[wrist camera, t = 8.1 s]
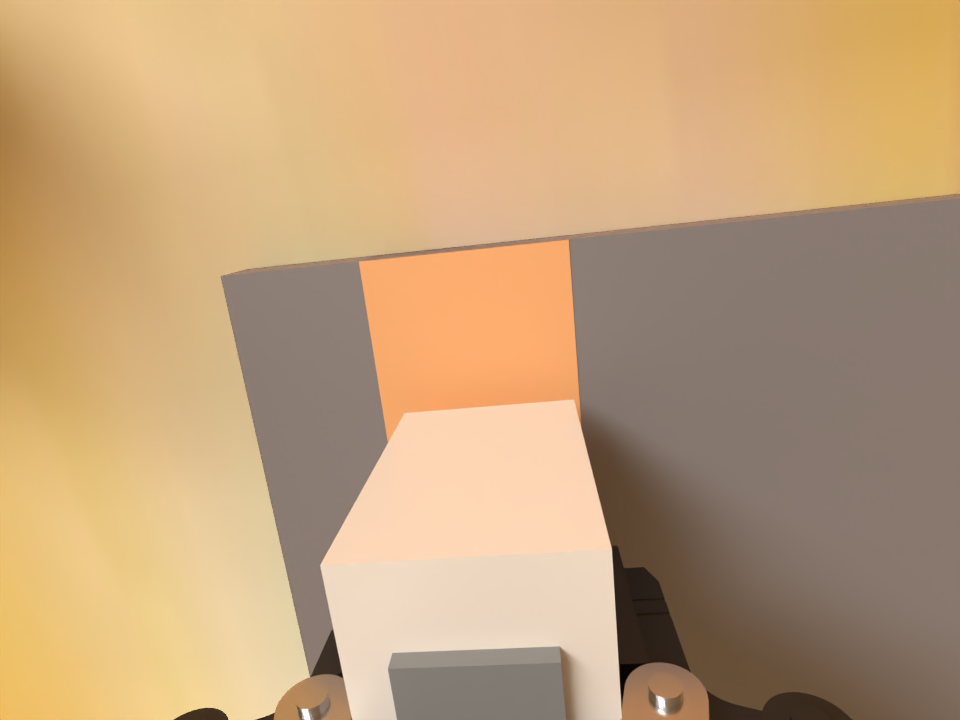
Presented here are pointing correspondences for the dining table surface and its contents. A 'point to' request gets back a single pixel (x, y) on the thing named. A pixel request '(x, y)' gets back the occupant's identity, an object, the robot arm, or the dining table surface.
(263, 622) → the dining table surface
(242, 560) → the dining table surface
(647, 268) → the board
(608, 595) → the block
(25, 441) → the dining table surface
